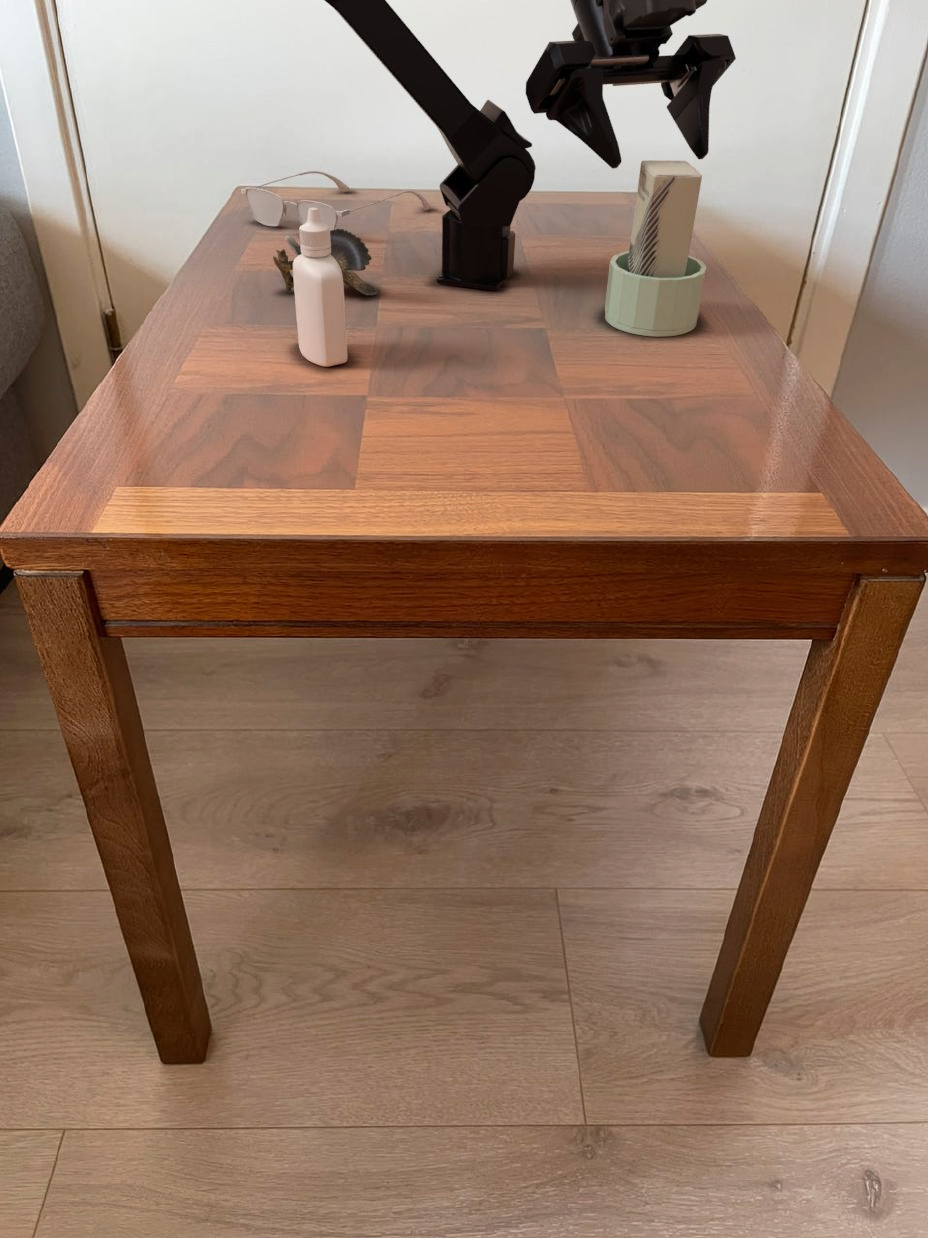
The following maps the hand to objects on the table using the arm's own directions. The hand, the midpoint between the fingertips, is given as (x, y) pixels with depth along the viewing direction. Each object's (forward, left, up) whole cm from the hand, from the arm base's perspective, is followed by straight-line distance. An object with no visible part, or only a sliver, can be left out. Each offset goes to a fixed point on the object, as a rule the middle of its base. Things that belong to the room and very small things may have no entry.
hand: (661, 160), depth 85 cm
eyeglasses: (-40, +20, -14) cm, 47 cm away
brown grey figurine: (-30, -6, -14) cm, 33 cm away
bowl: (+1, -1, -14) cm, 14 cm away
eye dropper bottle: (-24, -20, -14) cm, 34 cm away
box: (+1, -1, -13) cm, 13 cm away
